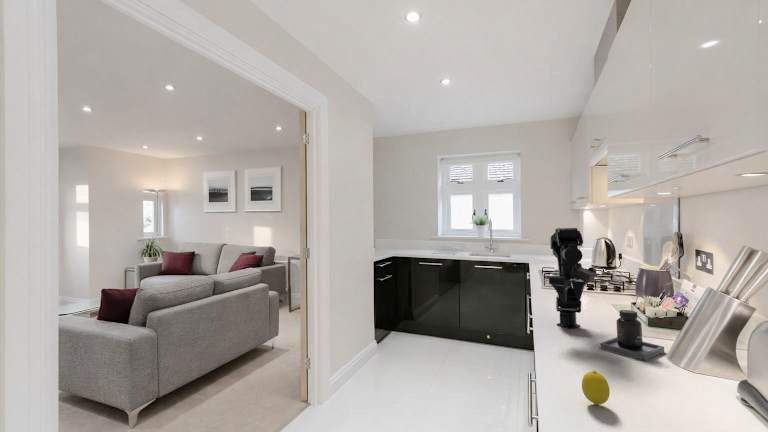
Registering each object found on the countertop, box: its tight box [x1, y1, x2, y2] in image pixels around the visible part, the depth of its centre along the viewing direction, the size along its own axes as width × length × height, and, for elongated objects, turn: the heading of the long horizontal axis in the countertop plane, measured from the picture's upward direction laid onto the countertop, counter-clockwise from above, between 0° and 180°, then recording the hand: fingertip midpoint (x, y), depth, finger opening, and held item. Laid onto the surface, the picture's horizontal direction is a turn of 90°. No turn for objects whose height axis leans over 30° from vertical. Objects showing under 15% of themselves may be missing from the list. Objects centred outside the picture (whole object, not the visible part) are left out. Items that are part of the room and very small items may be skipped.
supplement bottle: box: [615, 309, 644, 351], centre depth 110 cm, size 7×7×12 cm
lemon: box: [581, 370, 611, 406], centre depth 78 cm, size 6×6×8 cm
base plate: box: [599, 336, 665, 362], centre depth 110 cm, size 13×13×2 cm
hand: (571, 301), depth 126 cm, fingers open, 9 cm apart
